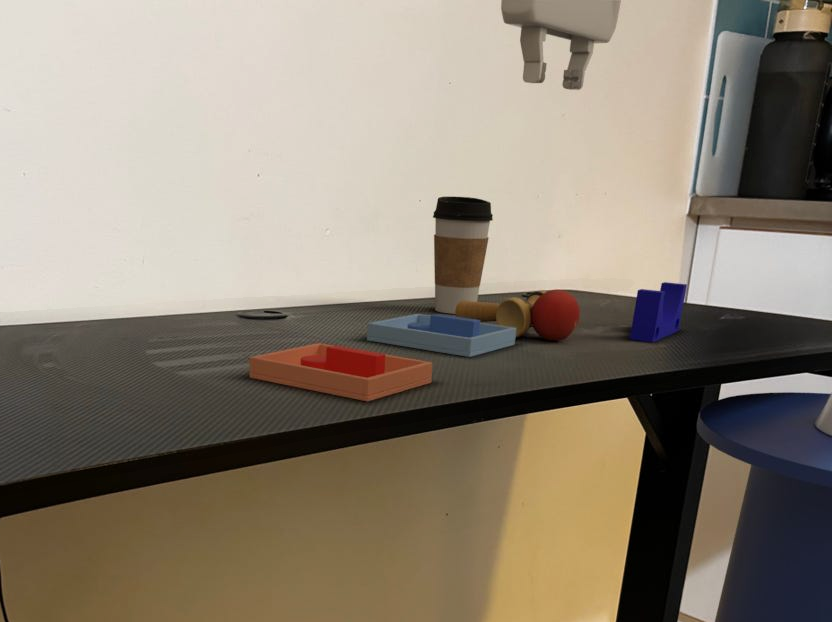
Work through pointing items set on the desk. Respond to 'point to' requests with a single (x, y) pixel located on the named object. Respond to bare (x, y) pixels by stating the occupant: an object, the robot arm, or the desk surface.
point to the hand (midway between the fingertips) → (553, 86)
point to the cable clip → (658, 312)
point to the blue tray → (440, 337)
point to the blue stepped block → (449, 326)
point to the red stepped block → (348, 361)
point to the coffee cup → (459, 249)
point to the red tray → (339, 374)
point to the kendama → (529, 313)
